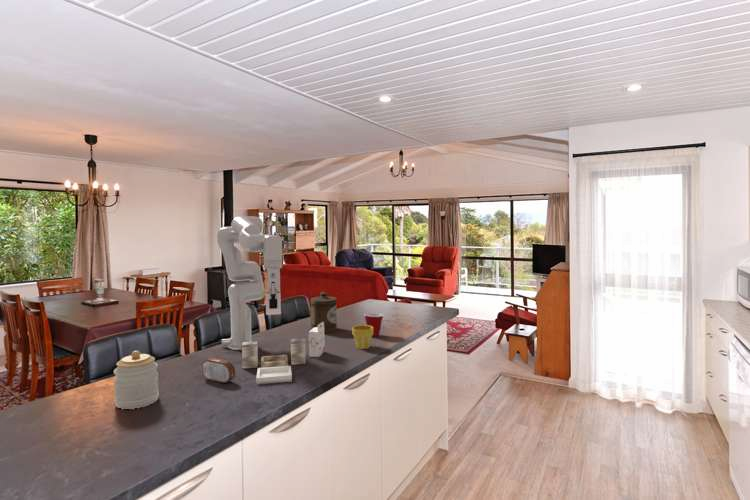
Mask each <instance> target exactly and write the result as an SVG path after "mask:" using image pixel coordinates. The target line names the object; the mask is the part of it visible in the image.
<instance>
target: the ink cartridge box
mask: <svg viewBox="0 0 750 500" xmlns="http://www.w3.org/2000/svg"><path fill="white" fill-rule="evenodd" d="M321 325H322V327H320V326H321ZM325 349H326V347H325V333H324V322H322V323H320V324H319V325H318V327H314V328H313V329H312V330H311V329H310V330H309V331H308V353H309V355H308V356H309V357H310V358H320V357H321V356H322V355H323V354H324V353H325Z"/></svg>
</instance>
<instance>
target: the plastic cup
mask: <svg viewBox="0 0 750 500" xmlns="http://www.w3.org/2000/svg"><path fill="white" fill-rule="evenodd" d="M363 315H364V321H365V323H366V324H365V325H369V326H372V327H373V335H372V338H378V337H379V336H380V332H381V326H382V321H383V318H384V316H385V314H382V313H377V312H367V313H364V314H363Z"/></svg>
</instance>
